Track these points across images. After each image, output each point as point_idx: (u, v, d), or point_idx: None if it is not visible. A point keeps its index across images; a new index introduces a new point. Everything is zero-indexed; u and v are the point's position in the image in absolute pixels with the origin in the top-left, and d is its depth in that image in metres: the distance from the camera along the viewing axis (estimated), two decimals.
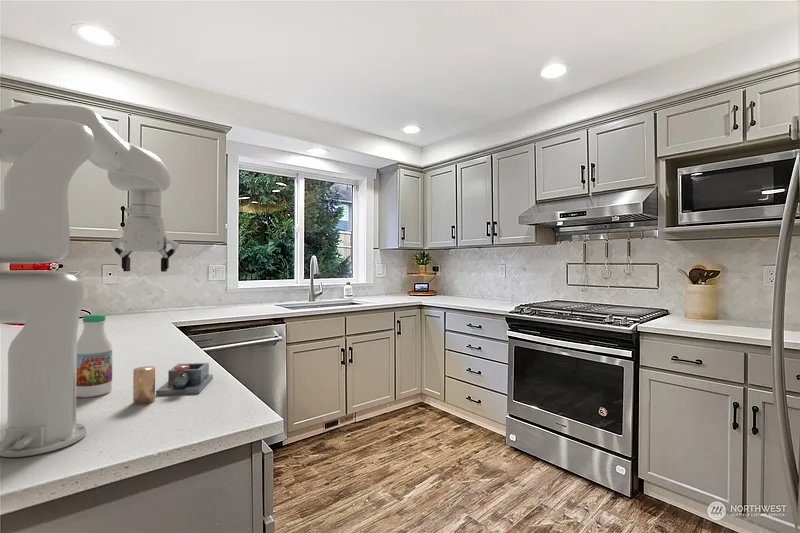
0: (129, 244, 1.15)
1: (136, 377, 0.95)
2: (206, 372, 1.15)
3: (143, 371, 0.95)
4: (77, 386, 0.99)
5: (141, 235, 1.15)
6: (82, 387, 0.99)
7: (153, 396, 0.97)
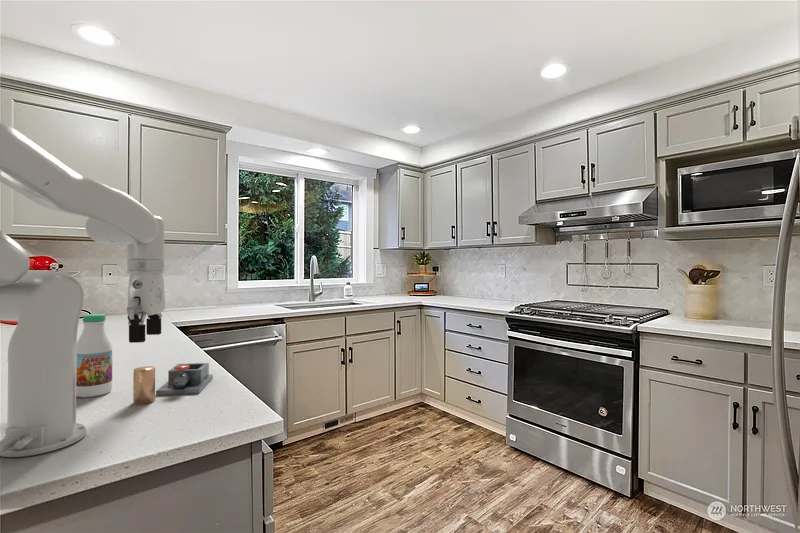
0: (153, 307, 0.95)
1: (136, 377, 0.95)
2: (206, 372, 1.15)
3: (143, 371, 0.95)
4: (77, 386, 0.99)
5: (158, 295, 0.98)
6: (82, 387, 0.99)
7: (153, 396, 0.97)
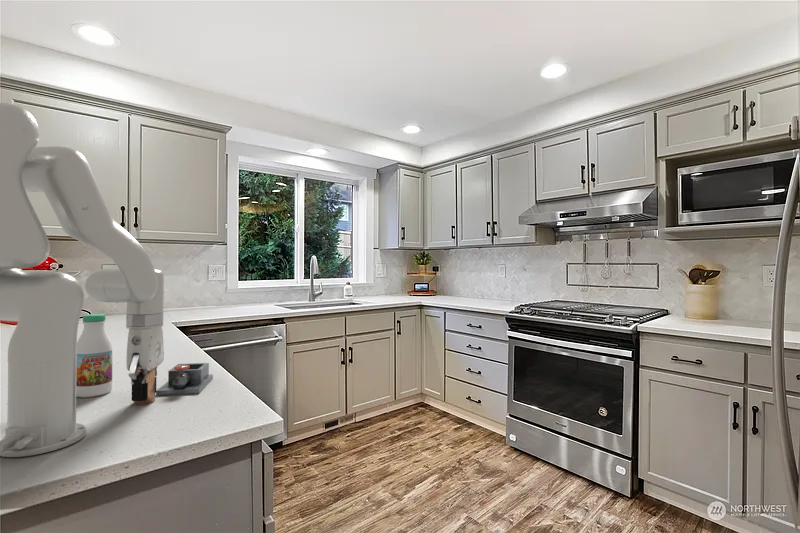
0: (152, 363, 0.95)
1: None
2: (206, 372, 1.15)
3: None
4: (77, 386, 0.99)
5: (157, 349, 0.98)
6: (82, 387, 0.99)
7: (153, 396, 0.97)
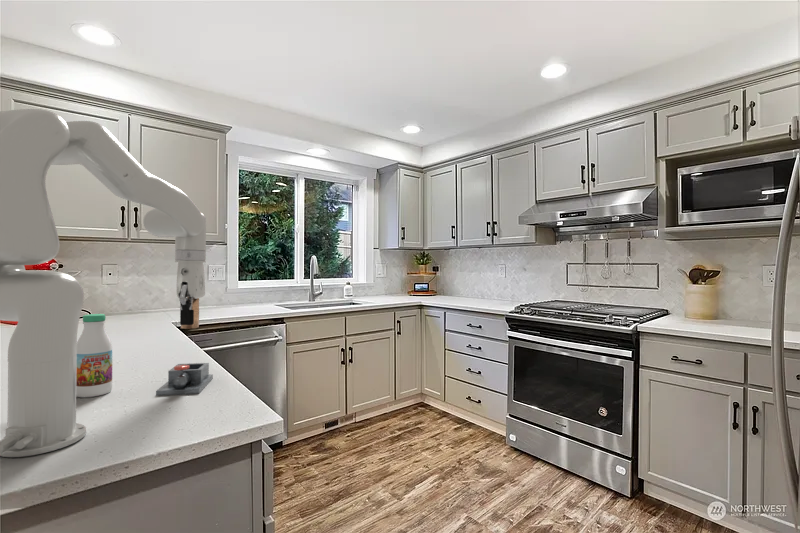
0: (197, 292, 1.09)
1: None
2: (206, 372, 1.15)
3: None
4: (77, 386, 0.99)
5: (201, 282, 1.12)
6: (82, 387, 0.99)
7: (197, 322, 1.12)
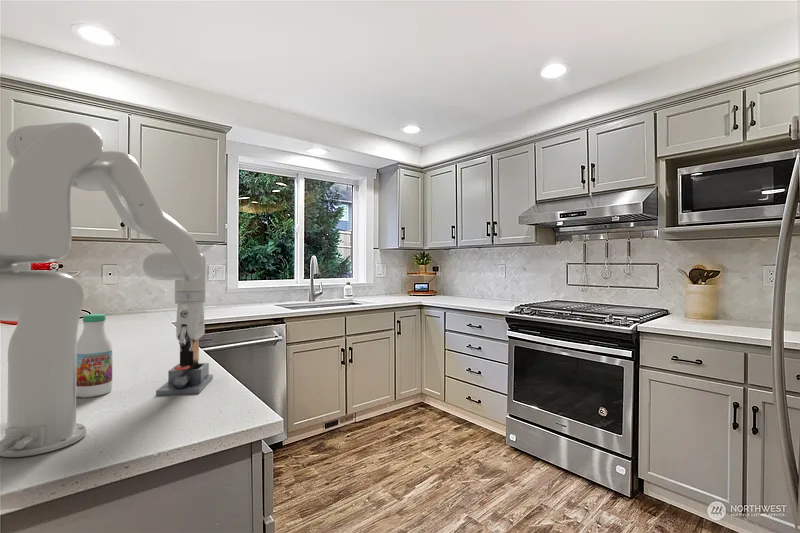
0: (197, 333, 1.09)
1: None
2: (206, 372, 1.15)
3: None
4: (77, 386, 0.99)
5: (200, 322, 1.12)
6: (82, 387, 0.99)
7: (197, 363, 1.12)
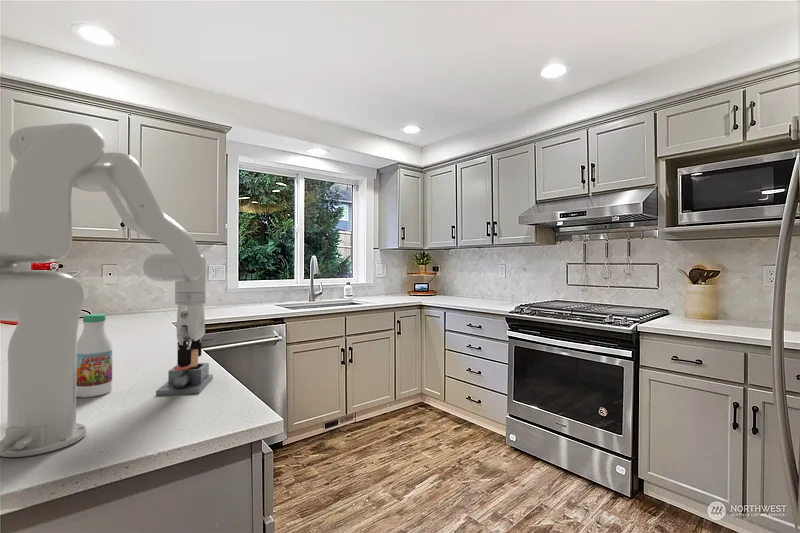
0: (197, 334, 1.10)
1: None
2: (206, 372, 1.15)
3: None
4: (77, 386, 0.99)
5: (201, 323, 1.13)
6: (82, 387, 0.99)
7: None
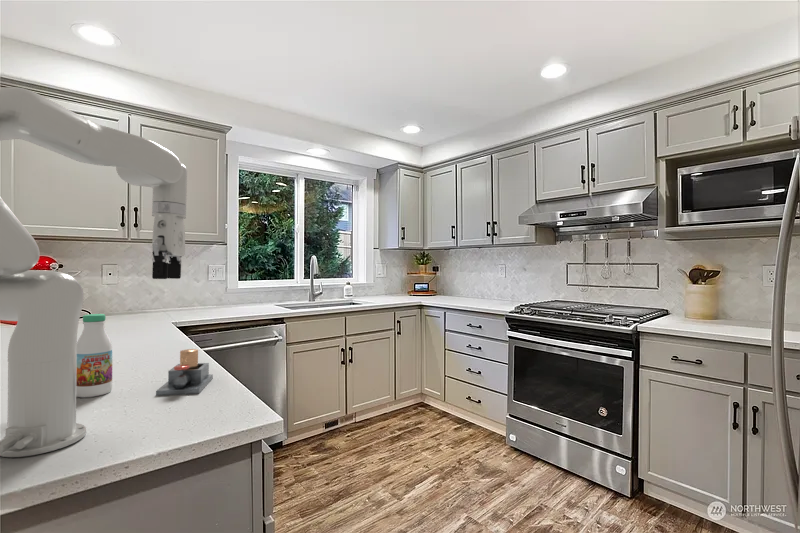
0: (175, 248, 1.00)
1: (183, 358, 1.10)
2: (206, 372, 1.15)
3: (189, 352, 1.10)
4: (77, 386, 0.99)
5: (180, 238, 1.03)
6: (82, 387, 0.99)
7: None
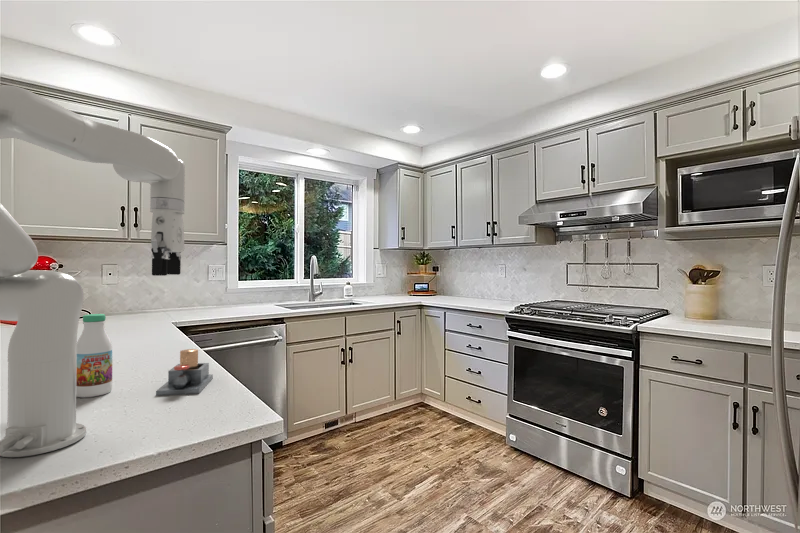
0: (174, 244, 1.00)
1: (183, 358, 1.10)
2: (206, 372, 1.15)
3: (189, 352, 1.10)
4: (77, 386, 0.99)
5: (179, 234, 1.03)
6: (82, 387, 0.99)
7: None
